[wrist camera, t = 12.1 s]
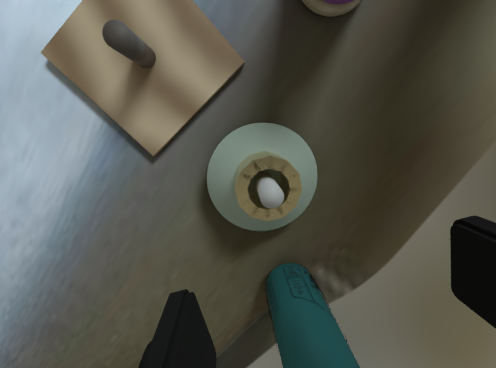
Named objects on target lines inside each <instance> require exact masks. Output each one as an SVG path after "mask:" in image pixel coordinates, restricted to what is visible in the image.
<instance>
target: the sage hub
mask: <svg viewBox="0 0 496 368" xmlns="http://www.w3.org/2000/svg"><path fill="white" fill-rule="evenodd" d="M261 151H268V152H271V153H274V154H278V155H280V156H282V157H283V158H285V159H286V160H288V162H289V163H290V164H291V165H292V166H293V167H294V168H295V169H296V170H297V171H298V172H299V174H300V180H301V185H302V193H301V195H300V198H299V201H298V204H297V206H296V207H295V208H294V209H293V210H291V211H290V212H289V213H288V214H287V215H286V216H285V217H283V218H279V219H275V220H271V221H264V220H260V219H256V218H252V217H250V216H249V215H248V214H247V213H246V212H245V211H244V210H243V209H242V208H241V207H240V206H239V203H238V199H237V196H236V192H235V176H236V172H237V169H238V165H239V164H240V163H241V162H242V161H243V160H244V159H245V158H246V157H247V156H249V155H250V154H253V153H257V152H261ZM280 182H281V176H280V171H277V170H274V169H266V170H262V171H259V172H258V173H257V174H256V175H254V176H253V177H252V178H251V180H250V183H249V186H248V189H249V190H250V191H251V192H252V193H253V194H254V195H257V196H259V198H260V201H261V203H262V204H263V205H264V206H265V207H267V208H270V209H273V208H277V207H278V206H280V205H281V204H282V202H283V200H284V193H283V191H282V190H281V188H280V187H279V185H280ZM316 185H317V165H316V161H315V158H314V155H313V153H312V151H311V149H310V147H309V146H308V145H307V143H306V142H305V141H304V140H303V139H302V138H301V137H300V136H299V135H298V134H297V133H295V132H294V131H292V130H290V129H288V128H286V127H284V126H281V125H278V124H273V123H253V124H248V125H244V126H241V127H239V128H237V129H235V130H234V131H232V132H231V133H229V134H228V135H227V136H226V137H225V138H224V139H223V140H222V141H221V142H220V143H219V145H218V146H217V148H216V149H215V151H214V153H213V155H212V157H211V159H210V162H209V165H208V171H207V187H208V191H209V195H210V198H211V200H212V202H213V204H214V206H215V207H216V209H217V210H218V211H219V213H220V214H221V215H222V216H223V217H224V218H226V219H227V220H228V221H229V222H231V223H233V224H234V225H236V226H239V227H241V228H244V229H247V230H253V231H268V230H274V229H277V228H280V227H283V226H285V225H287V224H289V223H290V222H292V221H294V220H295V219H296V218H297V217H299V216H300V215H301V214H302V213H303V212H304V210H305V209H306V208H307V207H308V205H309V203H310V202H311V200H312V198H313V195H314V193H315V189H316Z"/></svg>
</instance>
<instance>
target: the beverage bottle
mask: <svg viewBox="0 0 496 368" xmlns="http://www.w3.org/2000/svg"><path fill="white" fill-rule="evenodd" d="M313 278H314V277H312V274H310V273H309V271H308V269H306V268H305V267H303V266H301V265H299V264H295V263H287V264H282V265H280V266H278V267H276V268H275V269H274V270H273V271H272V272H271V273H270V274H269V276H268V278H267V281H266V284H265V285H266V290H265V291H266V292H267V295H266V296H267V297H268V299H267V303H268V302H269V305H268V308H269V306H270V311H271V312H270V311H269V313H271V314H270V315H271V316H272V319H271V320H273V324H272V325H274V329H273V330H275V334H276V336H275V337H276V339H277V341H276V342H277V344H278V348H279V351H280V355H281V360H282V365H283V368H360V367H359V365H358V363H357V361H356V359H355V357H354V355H353V353H352V351H351V350H350V348H349V346H348V344H347V342H346V341H347V340H345V338H344V336H343V334H342V332H341V330H340V328H339V326H338V324H337V322H336V320H335V318H334V317H333V315H332V313H331V311H330V309H329V307H328V305H327V304H326V302H325V301H326V299H325V300H324V298H325V297H324V298H323V296H324V295H323V296H322V294H323V293H322V294H321V293H320V292H321V291H320V290H319V289H320V288H318V287H319V286H317V285H318V284H317V285H316V283H317V282H316V283H315V281H316V280H315V279H313ZM314 280H315V281H314ZM271 316H270V318H271Z"/></svg>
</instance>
